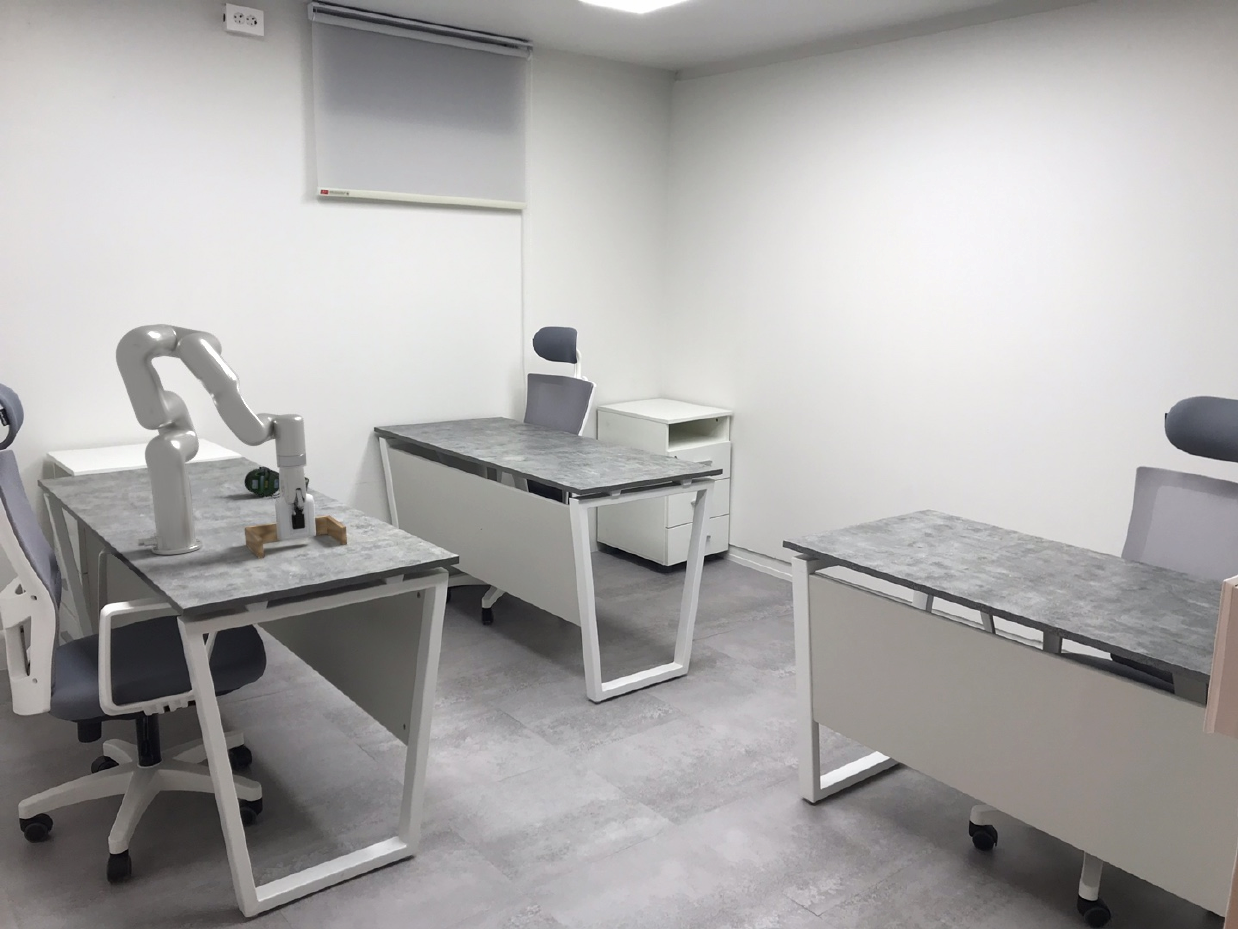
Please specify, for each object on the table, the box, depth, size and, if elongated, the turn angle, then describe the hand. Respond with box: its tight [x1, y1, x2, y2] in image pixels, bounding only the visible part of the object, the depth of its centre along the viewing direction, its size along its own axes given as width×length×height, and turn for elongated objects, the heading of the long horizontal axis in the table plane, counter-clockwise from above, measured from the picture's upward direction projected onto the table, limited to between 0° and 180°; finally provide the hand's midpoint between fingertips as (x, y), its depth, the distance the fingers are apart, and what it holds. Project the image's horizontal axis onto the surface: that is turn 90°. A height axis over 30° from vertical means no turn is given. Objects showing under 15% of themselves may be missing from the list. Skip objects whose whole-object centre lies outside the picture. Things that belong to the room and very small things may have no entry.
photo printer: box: [274, 493, 317, 542], centre depth 260 cm, size 10×4×12 cm, turn 124°
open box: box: [244, 515, 348, 559], centre depth 263 cm, size 23×16×5 cm
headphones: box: [243, 466, 310, 498], centre depth 324 cm, size 13×13×20 cm
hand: (296, 525), depth 261 cm, fingers closed on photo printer, 4 cm apart
